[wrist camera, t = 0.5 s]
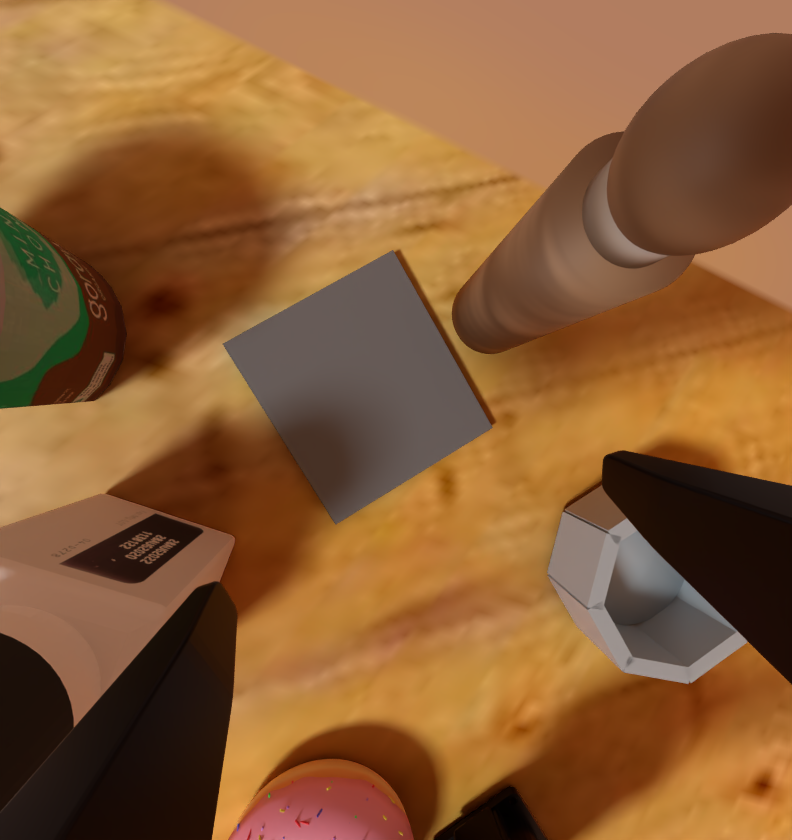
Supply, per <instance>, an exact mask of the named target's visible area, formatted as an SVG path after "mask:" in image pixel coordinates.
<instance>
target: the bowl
mask: <svg viewBox="0 0 792 840" xmlns="http://www.w3.org/2000/svg"><path fill="white" fill-rule="evenodd" d="M564 510H565V511H566V512H563V513H562V517H561V521H560V525H559V529H558V533H557V537H556V540H555V544H554V548H553V552H552V556H551V560H550V564H549V567H548V571H547V573H548V577H549V579H550V581H551V582H552V584H553V586H554V588H555V589H556V591H557V593H558V595H559V596H560V598H561V600H562V602H563V603H564V605H565V607H566V609H567V610H568V612H569V614H570V616H571V617H572V619H573V621H574V623H575V624H576V626H577V627H578V628H579V629H580V630H581V631H582V632H583V633H584V634H585V635H586V636H587V637H588V638H589V639H590V640H591V641H592V642H593V643H594V644H595V645H596V646H597V647H598V648H599V649H600V650H601V651H602V652H603V653H604V654H605V655H606V656H607V657H608V658H609V659H610V660H611V661H612V662H613V663H614V664H615V665H616V666H617V667H618V668H619V669H620V670H621V671H623V672H624V673H630V674H635V675H641V676H647V677H652V678H658V679H663V680H669V681H675V682H680V683H686V684H688V683H689V682H690V683H692V682H694V681H695V680H696V679H698V678H699V677H700V676H702V675H703V674H704V673H706V672H707V671H709V670H710V669H711V668H713V667H714V666H715V665H717V664H718V663H720V662H721V661H722V660H724V659H725V658H726V657H728V656H729V655H730V654H732V653H733V652H735V651H736V650H737V649H739V648H740V647H741V646H743V645H744V644H746V643H747V641H746V639H745V638H744V637H743V636H742V635H741V634H740V633H739V632H738V631H737V630H736V629H735V628H734V627H733V626H732V625H731V624H730V623H729V622H728V621H727V620H725V619H724V618H723V617H722V616H721V615H720V614H719V613H718V612H717V611H716V610H715V609H714V608H713V607H712V606H711V605H710V604H709V603H708V602H707V601H706V600H705V599H704V598H703V597H702V596H701V595H700V594H699V593H698V592H697V591H696V590H695V589H694V588H693V587H692V586H691V585H690V584H689V583H688V582H687V581H686V580H685V579H684V578H683V577H682V576H681V575H680V574H679V573H678V572H677V571H676V570H674V569H673V568H672V567H671V566H670V565H669V564H668V563H667V562H666V561H665V560H664V559H663V558H662V557H661V556H660V555H659V554H658V553H657V552H656V551H655V550H654V549H653V548H652V547H651V545H650V544H649V543H648V542H647V541H646V540H645V539H644V538H643V537H642V535H641V534H640V533H639V532H638V531H637V529H636V528H635V527H634V526H633V525H632V524H631V522H630V521H629V520H628V519H627V518H626V517H625V515H624V514H623V513H622V512H621V511H620V510H619V508H618V507H617V506H616V505H615V504H614V503H613V501H612V500H611V499H610V498H609V497H608V495H607V494H606V493H605V491H604V490H603V487H602V485H601V486H599V487H598V488H596V489H595V490H593V491H592V492H590V493H589V494H587V495H586V496H584V497H583V498H581V499H580V500H578V501H577V502H575V503H573V504H572V505H570V506H569V507H567V508H566V509H564Z"/></svg>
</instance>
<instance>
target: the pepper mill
mask: <svg viewBox="0 0 792 840" xmlns="http://www.w3.org/2000/svg"><path fill="white" fill-rule="evenodd" d="M790 205H792V34H782V33H770V34H761V35H754V36H750V37H746V38H742V39H739V40H736V41H733V42H729V43H727V44H725V45H722V46H720V47H718V48H716V49H714V50H712V51H709V52H707V53H705V54H704V55H702V56H700V57H699V58H697V59H695V60H694V61H692V62H691V63H689V64H687V65H686V66H685V67H683V68H682V69H681V70H679V71H678V72H677V73H675V74H674V75H673V76H672V77H670V78H669V79H668V80H667V81H666V82H665V83H664V84H663V85H661V86H660V87H659V88H658V89H657V90H656V91H655V92H654V93H653V94H652V95H651V96H650V97H649V99H648V100H647V101H646V102H645V104H644V105H643V106H642V107H641V108H640V109H639V111H638V112H637V113H636V115H635V116H634V117H633V119H632V121H631V122H630V124H629V125H628V127H627V128H626V130H625V131H624V132H616V133H611V134H608V135H605V136H602V137H600V138H598V139H596V140H594V141H593V142H591V143H590V144H588V145H586V146H585V147H584V148H583V149H582V150H581V151H580V152H579V153H578V154H577V155H576V156H575V157H574V158H573V160H572V161H571V162H570V163H569V164H568V166H567V167H566V168H565V169H564V170H563V171H562V173H561V174H560V175H559V176H558V177H557V178H556V179H555V180H554V182H553V183H552V184H551V185H550V186H549V187H548V189H547V190H546V191H545V192H544V193H543V194H542V195H541V197H540V198H539V199H538V200H537V201H536V202H535V204H534V205H533V206H532V207H531V208H530V209H529V210H528V212H527V213H526V214H525V215H524V216H523V217H522V219H521V220H520V221H519V222H518V223H517V224H516V226H515V227H514V228H513V229H512V230H511V231H510V232H509V234H508V235H507V236H506V237H505V238H504V239H503V241H502V242H501V243H500V244H499V245H498V246H497V247H496V249H495V250H494V251H493V252H492V253H491V254H490V256H489V257H488V258H487V259H486V260H485V261H484V263H483V264H482V265H481V266H480V267H479V268H478V269H477V271H476V272H475V273H474V274H473V275H472V276H471V278H470V279H469V280H468V281H467V282H466V283H465V284H464V286H463V287H462V288H461V289H460V290H459V292H458V293H457V295H456V297H455V300H454V303H453V307H452V320H453V325H454V328H455V330H456V333H457V334H458V336H459V338H460V339H461V340H462V341H463V342H464V343H465V344H466V345H467V346H468V347H470V348H471V349H473V350H475V351H477V352H480V353H485V354H496V353H500V352H503V351H506V350H508V349H511V348H513V347H516V346H518V345H521V344H523V343H526V342H529V341H531V340H534V339H536V338H539V337H541V336H544V335H546V334H549V333H551V332H554V331H557V330H559V329H562V328H564V327H567V326H569V325H572V324H574V323H577V322H579V321H582V320H585V319H587V318H590V317H592V316H595V315H597V314H600V313H602V312H605V311H607V310H610V309H613V308H615V307H618V306H620V305H623V304H625V303H628V302H630V301H633V300H635V299H638V298H641V297H643V296H646V295H648V294H651V293H653V292H656V291H658V290H660V289H662V288H664V287H666V286H668V285H669V284H671V283H672V282H674V281H675V280H676V279H677V278H678V277H679V276H680V275H681V274H682V273H683V272H684V271H685V270H686V268H687V267H688V266H689V264H690V263H691V261H692V259H693V258H694V256H695V254H699V253H704V252H708V251H712V250H715V249H718V248H721V247H724V246H726V245H729V244H732V243H734V242H736V241H738V240H740V239H742V238H744V237H746V236H748V235H750V234H752V233H754V232H756V231H757V230H759V229H760V228H762V227H763V226H765V225H767V224H768V223H769V222H770V221H772V220H774V219H775V218H776V217H778V216H779V215H780V214H781V213H782V212H784V211H785V210H786V209H787V208H788V207H789V206H790Z"/></svg>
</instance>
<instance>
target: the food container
mask: <svg viewBox="0 0 792 840" xmlns="http://www.w3.org/2000/svg"><path fill="white" fill-rule="evenodd" d="M126 334H127V333H126V328H125V323H124V317H123V312H122V307H121V305H120V303H119V301H118V299H117V297H116V296H115V294H114V292H113V290H112V288H111V287H110V285H109V284H108V283H107V282H106V280H105V279H104V278H103V277H102V276H101V275H100V274H99V273H98V272H97V271H96V270H95V269H94V268H92V267H91V266H90V265H88V264H87V263H85V262H84V261H82V260H81V259H79V258H78V257H76V256H75V255H73V254H72V253H70V252H68V251H67V250H65V249H64V248H62V247H61V246H59V245H58V244H56V243H55V242H53V241H51V240H50V239H48V238H47V237H45V236H44V235H42V234H41V233H39V232H38V231H36V230H34V229H33V228H31V227H30V226H28V225H27V224H25V223H24V222H22V221H21V220H19V219H17V218H16V217H14V216H13V215H11V214H10V213H8V212H7V211H5V210H4V209H2V208H0V409H2V408H14V407H26V406H39V405H51V404H63V403H75V402H87V401H95V399H96V398H97V397H98V396H99V395H100V394H101V393H102V392H103V391H104V390H105V389H106V388H107V387H108V386H109V385H110V383H111V381H112V380H113V378H114V376H115V374H116V372H117V370H118V368H119V366H120V364H121V363H122V360H123V354H124V347H125V341H126Z"/></svg>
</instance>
